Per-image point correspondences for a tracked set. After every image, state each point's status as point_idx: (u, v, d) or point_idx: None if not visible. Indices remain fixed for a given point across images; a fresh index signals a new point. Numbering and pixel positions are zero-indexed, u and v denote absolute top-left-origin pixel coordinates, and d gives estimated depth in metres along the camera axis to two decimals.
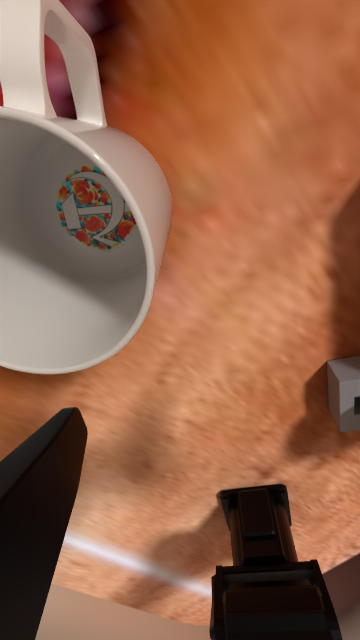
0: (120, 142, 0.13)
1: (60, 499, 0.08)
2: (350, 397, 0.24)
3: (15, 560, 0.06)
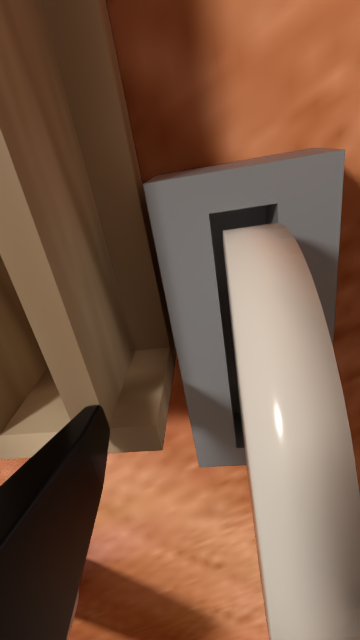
0: None
1: (87, 497, 0.08)
2: (236, 452, 0.13)
3: (48, 559, 0.06)
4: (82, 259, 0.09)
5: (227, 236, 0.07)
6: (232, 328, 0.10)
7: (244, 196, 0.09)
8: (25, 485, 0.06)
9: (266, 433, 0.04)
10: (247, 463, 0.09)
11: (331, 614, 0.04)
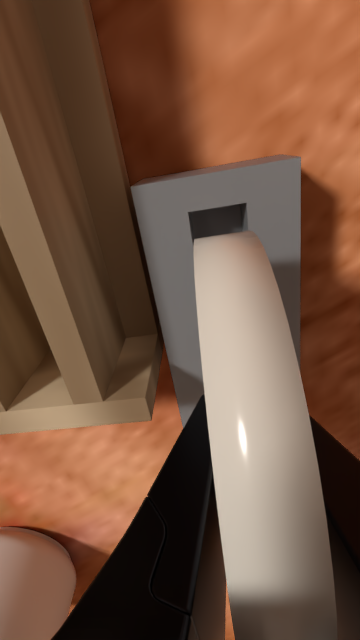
0: None
1: None
2: None
3: (216, 551, 0.06)
4: (79, 253, 0.10)
5: (196, 246, 0.06)
6: None
7: (217, 197, 0.10)
8: (188, 473, 0.06)
9: (228, 462, 0.04)
10: None
11: None
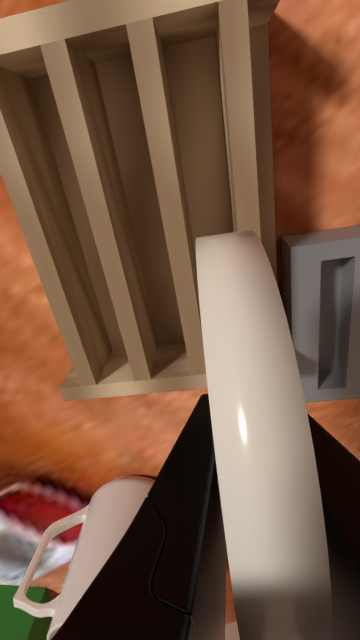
0: (79, 547, 0.26)
1: None
2: (317, 392, 0.22)
3: (215, 551, 0.06)
4: None
5: (198, 244, 0.07)
6: None
7: (339, 253, 0.18)
8: (188, 473, 0.06)
9: (229, 446, 0.04)
10: None
11: (299, 626, 0.04)
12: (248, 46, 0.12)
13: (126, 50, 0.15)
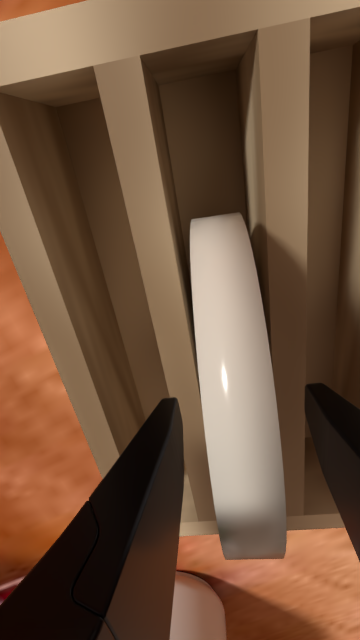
0: None
1: (176, 491, 0.07)
2: None
3: (157, 553, 0.06)
4: None
5: (193, 222, 0.08)
6: None
7: None
8: (131, 477, 0.06)
9: (209, 363, 0.06)
10: None
11: (260, 504, 0.06)
12: None
13: (216, 67, 0.09)
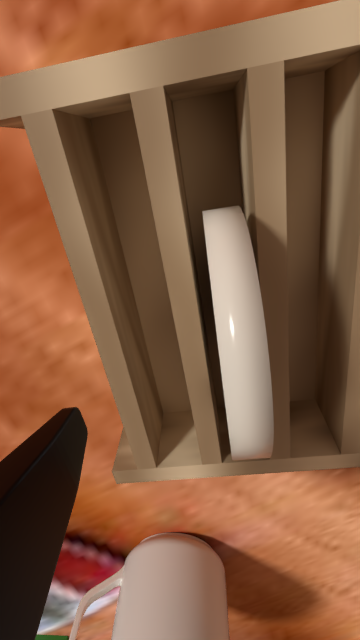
0: (122, 626, 0.23)
1: (60, 499, 0.08)
2: None
3: (15, 560, 0.06)
4: None
5: (204, 213, 0.11)
6: None
7: None
8: None
9: (221, 309, 0.08)
10: None
11: (256, 404, 0.08)
12: None
13: (218, 89, 0.12)
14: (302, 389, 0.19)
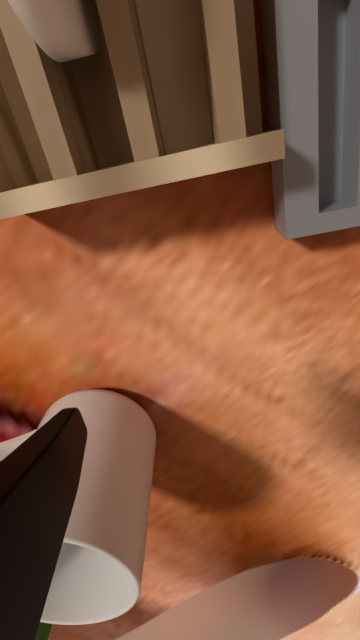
0: None
1: (60, 499, 0.08)
2: (318, 218, 0.16)
3: (15, 560, 0.06)
4: None
5: None
6: None
7: None
8: None
9: None
10: None
11: None
12: None
13: None
14: (195, 128, 0.16)
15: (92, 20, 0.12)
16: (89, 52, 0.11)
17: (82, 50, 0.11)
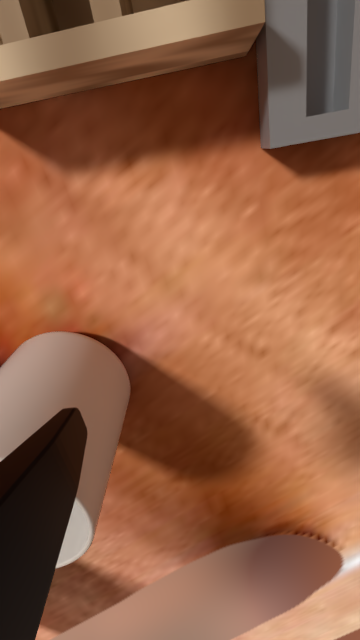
0: None
1: (60, 499, 0.08)
2: (305, 124, 0.15)
3: (15, 560, 0.06)
4: None
5: None
6: None
7: None
8: None
9: None
10: None
11: None
12: None
13: None
14: None
15: None
16: None
17: None
